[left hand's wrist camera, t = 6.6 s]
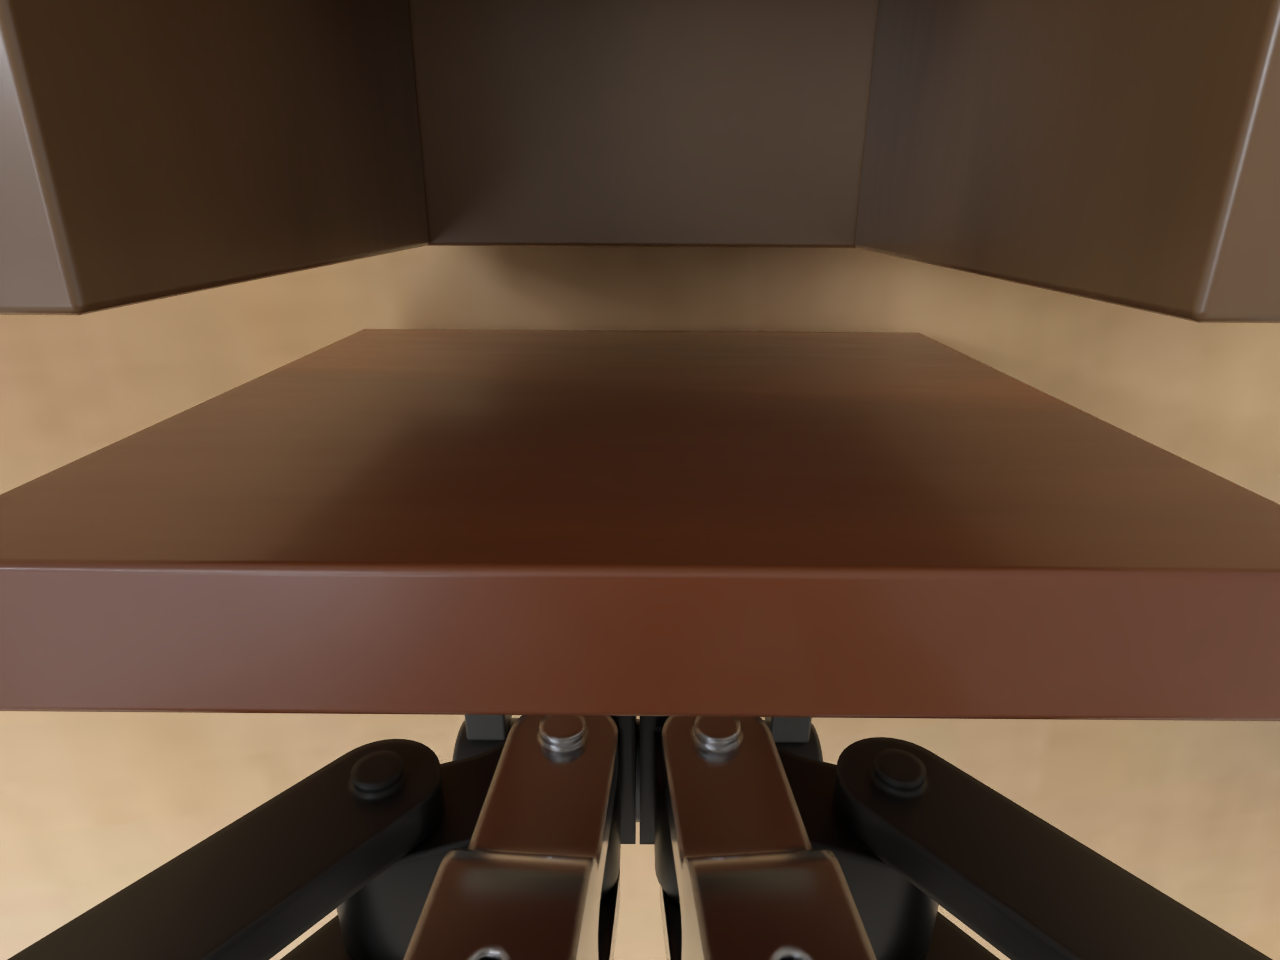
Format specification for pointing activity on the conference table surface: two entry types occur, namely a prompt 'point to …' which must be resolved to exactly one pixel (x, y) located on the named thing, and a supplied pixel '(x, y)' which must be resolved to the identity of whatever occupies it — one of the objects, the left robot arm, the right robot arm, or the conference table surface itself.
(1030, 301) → the conference table surface
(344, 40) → the drawer
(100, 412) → the conference table surface
